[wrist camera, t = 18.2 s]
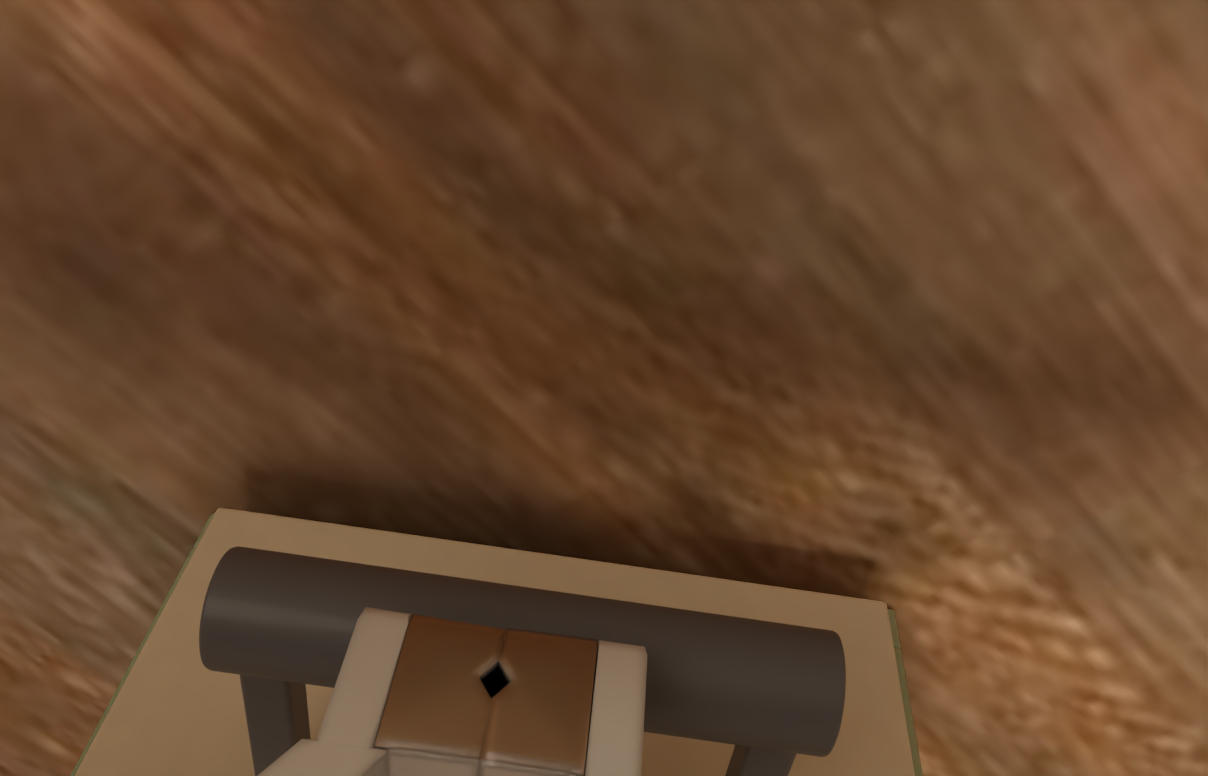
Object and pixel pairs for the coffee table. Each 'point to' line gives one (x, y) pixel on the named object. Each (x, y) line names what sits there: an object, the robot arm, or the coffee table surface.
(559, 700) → the robot arm
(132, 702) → the drawer
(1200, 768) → the coffee table surface
